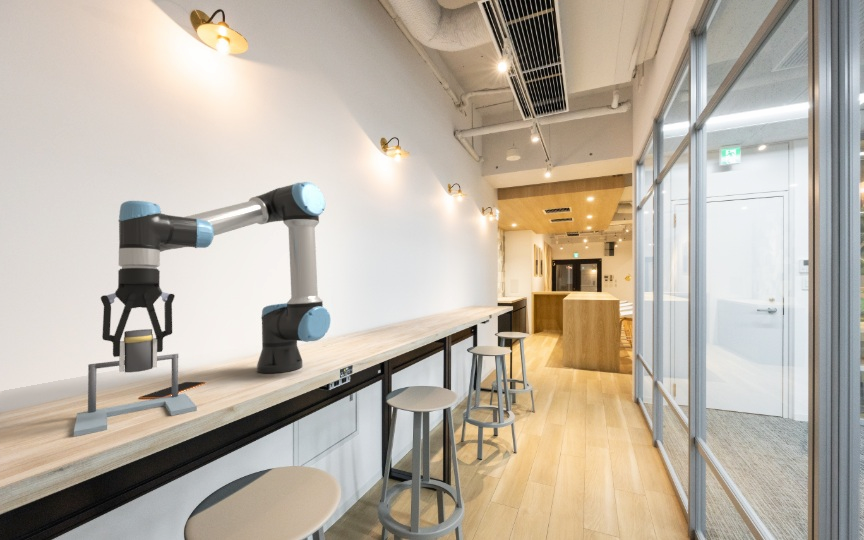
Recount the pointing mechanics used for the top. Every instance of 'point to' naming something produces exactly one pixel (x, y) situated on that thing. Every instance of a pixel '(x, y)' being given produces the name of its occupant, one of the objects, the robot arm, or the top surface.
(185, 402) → the arch on base
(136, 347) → the yellow-banded grey cylinder
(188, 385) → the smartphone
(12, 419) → the top surface
